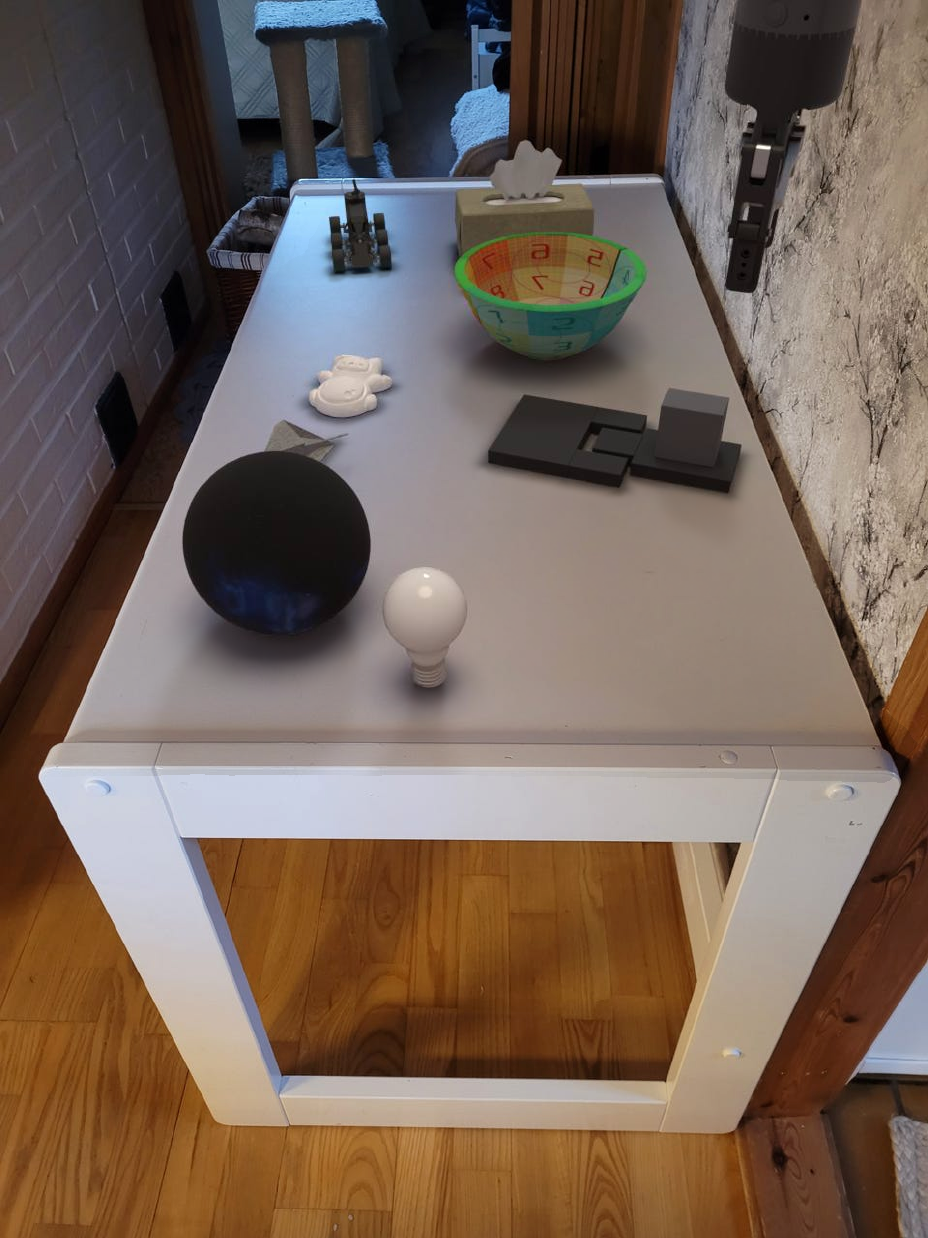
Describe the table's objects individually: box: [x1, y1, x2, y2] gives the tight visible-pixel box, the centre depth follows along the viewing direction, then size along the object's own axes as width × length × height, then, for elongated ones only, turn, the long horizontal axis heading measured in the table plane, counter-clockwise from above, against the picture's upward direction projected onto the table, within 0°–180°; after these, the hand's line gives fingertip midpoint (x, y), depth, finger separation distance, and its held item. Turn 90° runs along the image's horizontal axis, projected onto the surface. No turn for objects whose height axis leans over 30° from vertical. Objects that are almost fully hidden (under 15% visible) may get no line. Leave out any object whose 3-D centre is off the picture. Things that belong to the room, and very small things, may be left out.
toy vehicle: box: [328, 178, 393, 273], centre depth 137 cm, size 8×15×9 cm, turn 8°
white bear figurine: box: [308, 353, 393, 418], centre depth 110 cm, size 9×12×3 cm
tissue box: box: [454, 139, 595, 259], centre depth 133 cm, size 19×10×16 cm, turn 95°
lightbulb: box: [381, 566, 468, 688], centre depth 73 cm, size 6×6×11 cm
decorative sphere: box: [181, 451, 372, 636], centre depth 78 cm, size 15×15×15 cm
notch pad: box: [487, 393, 648, 488], centre depth 101 cm, size 14×12×2 cm
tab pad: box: [591, 387, 743, 494], centre depth 96 cm, size 14×7×8 cm, turn 69°
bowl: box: [453, 232, 648, 361], centre depth 114 cm, size 22×22×10 cm
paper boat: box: [263, 419, 349, 462], centre depth 97 cm, size 12×6×9 cm
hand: (749, 266), depth 71 cm, fingers open, 8 cm apart
